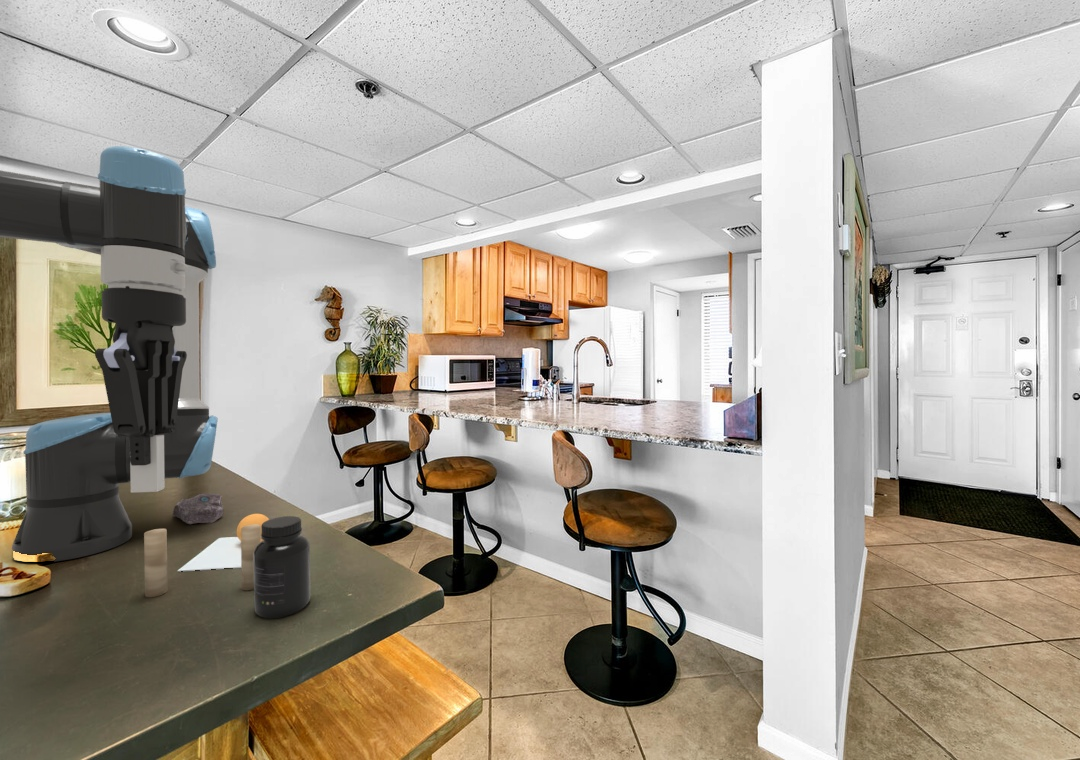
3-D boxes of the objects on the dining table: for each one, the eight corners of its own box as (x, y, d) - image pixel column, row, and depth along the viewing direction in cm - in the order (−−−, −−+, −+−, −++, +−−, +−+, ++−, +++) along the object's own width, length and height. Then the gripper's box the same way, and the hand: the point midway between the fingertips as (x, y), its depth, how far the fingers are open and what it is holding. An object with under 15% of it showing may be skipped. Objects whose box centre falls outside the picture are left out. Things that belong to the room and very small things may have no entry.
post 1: (151, 589, 69) (150, 529, 68) (171, 588, 69) (170, 528, 69) (140, 597, 66) (139, 535, 66) (160, 596, 67) (160, 534, 66)
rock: (181, 530, 93) (181, 507, 92) (169, 516, 100) (169, 495, 100) (229, 520, 99) (229, 499, 98) (215, 509, 106) (215, 489, 106)
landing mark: (219, 538, 88) (219, 537, 88) (299, 534, 91) (299, 533, 91) (177, 571, 74) (177, 570, 74) (273, 565, 77) (273, 564, 77)
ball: (246, 520, 89) (236, 510, 85) (278, 519, 90) (269, 508, 86) (239, 550, 86) (228, 540, 82) (271, 547, 87) (262, 538, 83)
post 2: (245, 583, 71) (245, 524, 71) (263, 581, 72) (263, 524, 71) (238, 591, 69) (238, 530, 68) (257, 589, 69) (257, 529, 69)
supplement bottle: (273, 593, 68) (273, 512, 68) (319, 595, 68) (319, 513, 68) (241, 619, 61) (241, 529, 61) (293, 621, 61) (292, 530, 61)
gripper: (147, 283, 49) (150, 505, 50) (209, 299, 62) (210, 476, 63) (62, 279, 47) (66, 508, 48) (143, 296, 60) (146, 477, 61)
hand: (147, 490), depth 55 cm, fingers closed
